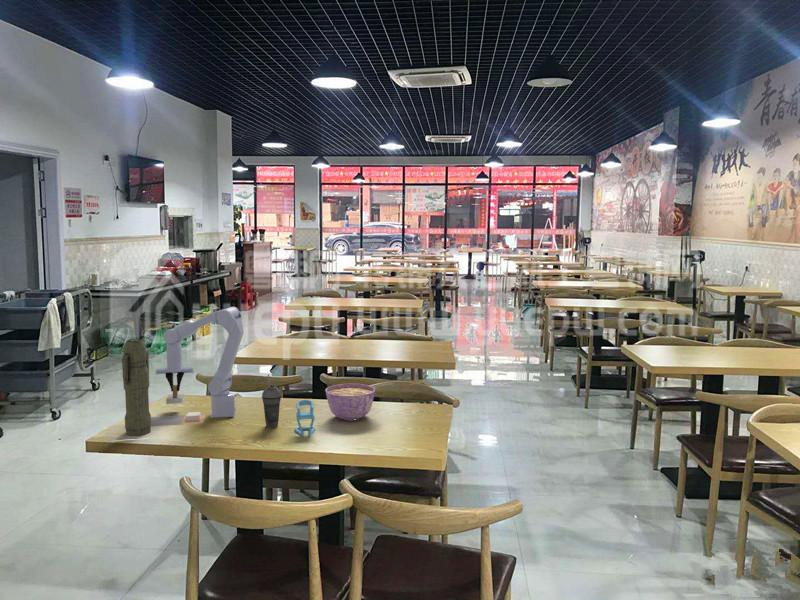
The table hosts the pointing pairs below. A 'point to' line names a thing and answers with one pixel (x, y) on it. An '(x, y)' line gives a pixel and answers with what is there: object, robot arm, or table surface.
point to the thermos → (136, 387)
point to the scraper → (175, 397)
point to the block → (193, 416)
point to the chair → (305, 417)
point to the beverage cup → (271, 405)
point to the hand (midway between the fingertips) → (175, 390)
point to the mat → (173, 420)
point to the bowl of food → (350, 400)
